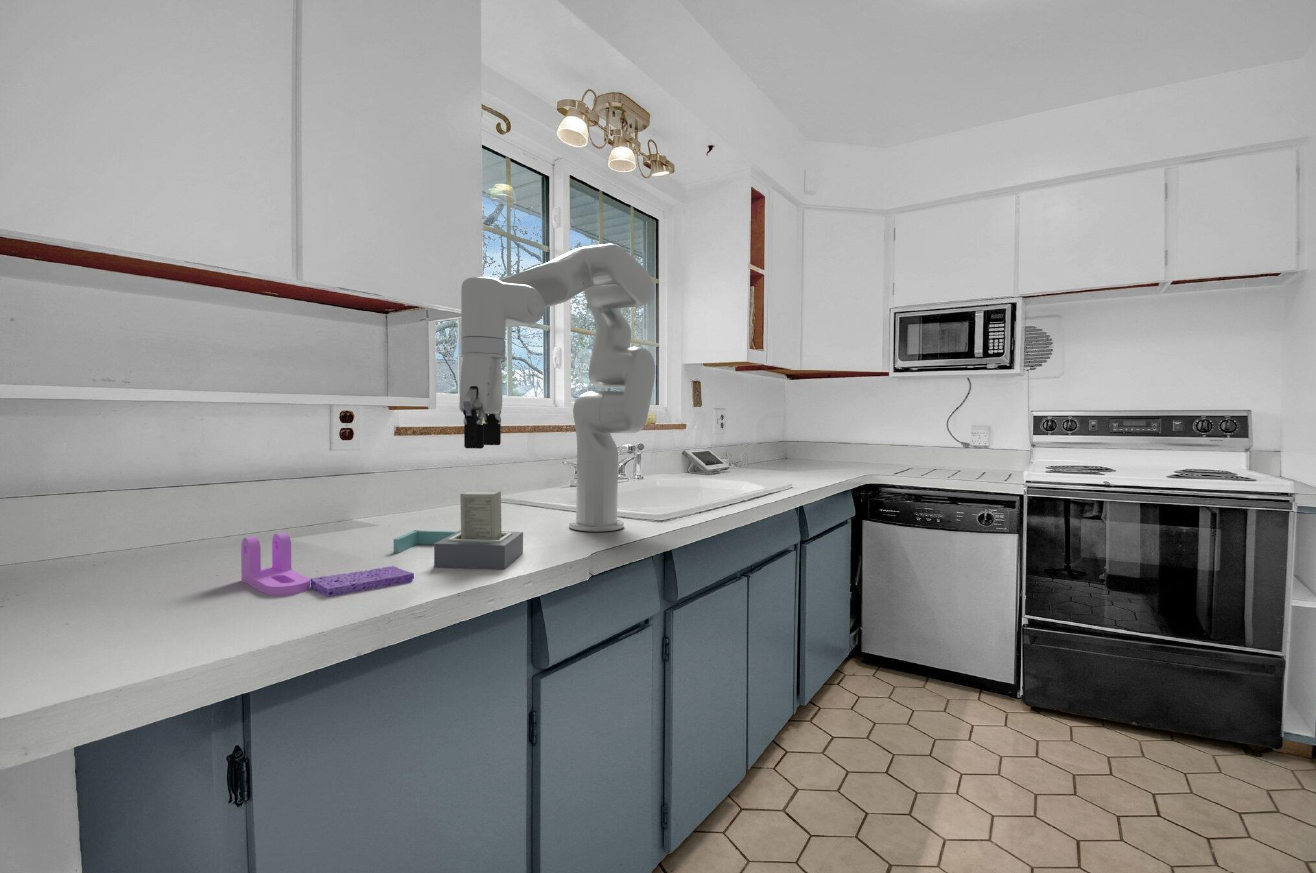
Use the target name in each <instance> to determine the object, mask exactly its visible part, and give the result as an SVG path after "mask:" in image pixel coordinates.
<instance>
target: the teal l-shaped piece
mask: <svg viewBox="0 0 1316 873" xmlns="http://www.w3.org/2000/svg"><path fill="white" fill-rule="evenodd" d="M458 531H459V530H458ZM458 531H457V530H454V531H453V530H421V529H420V530H419V529H418V530H417V529H414V530H412V531H409V532H407V533H405V534H402V535H401V536H398V537H396V538H393V553H394V554H399V553H401V552H404V551H406V550H409V549H411V548H412V547H414V546H416V545H434V544H435V543H436V542H438V541H440V540H442V539H444V538H446V537H448V536H450V535H452V534H454V533H456V532H458Z"/></svg>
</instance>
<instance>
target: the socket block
mask: <svg viewBox="0 0 1316 873" xmlns="http://www.w3.org/2000/svg"><path fill="white" fill-rule="evenodd" d="M501 537H502V538H500V539H499V540H482V539H461V529H460V530H458V532H456V533H454V534H452V535H450V536H448V537H446V538H444V539H442V540H440V541H438V542H436V543H435V544H433V545H434V546H433V552H434V554H433V557H434V558H433V561H434V562H433V568H448V569H449V568H450V569H453V568H454V569H455V568H456V569H484V570H485V569H486V570H487V569H488V570H489V569H490V570H506V569H507V568H508V567H509V566H510V565H511V564H512V563H514V562H515V560H517V559H518V558H520V556H521V555H523V554H524V531H502V530H501ZM522 553H523V554H522ZM507 566H508V567H507Z"/></svg>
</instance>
